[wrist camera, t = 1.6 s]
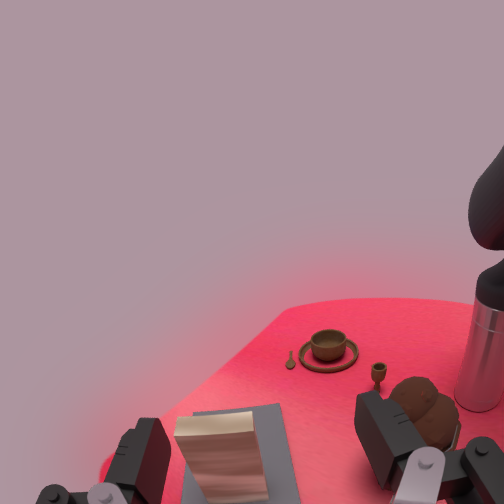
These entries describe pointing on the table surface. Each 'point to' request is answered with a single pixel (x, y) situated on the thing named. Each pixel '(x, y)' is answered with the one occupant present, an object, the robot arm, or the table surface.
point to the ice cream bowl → (429, 412)
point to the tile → (223, 456)
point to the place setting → (335, 354)
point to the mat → (272, 453)
